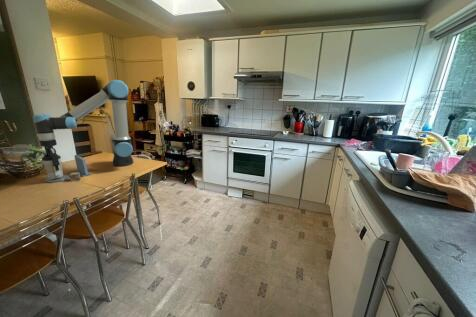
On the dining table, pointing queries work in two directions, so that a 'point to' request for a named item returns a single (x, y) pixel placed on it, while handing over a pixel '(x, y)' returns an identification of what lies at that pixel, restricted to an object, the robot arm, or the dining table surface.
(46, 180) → the coaster
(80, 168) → the screen
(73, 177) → the letter block
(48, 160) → the coffee cup
